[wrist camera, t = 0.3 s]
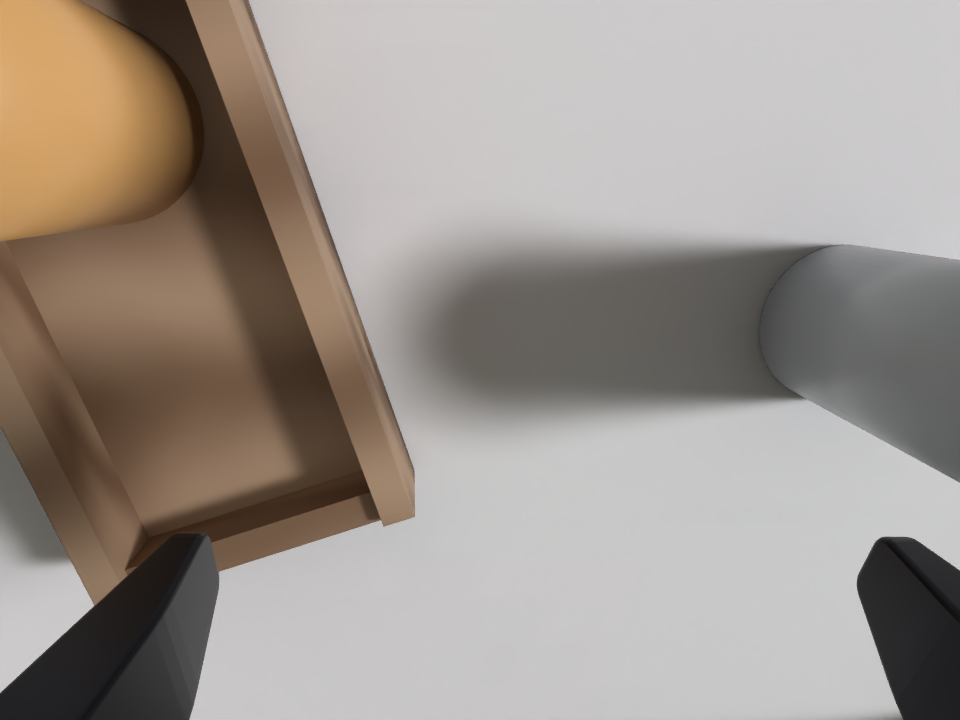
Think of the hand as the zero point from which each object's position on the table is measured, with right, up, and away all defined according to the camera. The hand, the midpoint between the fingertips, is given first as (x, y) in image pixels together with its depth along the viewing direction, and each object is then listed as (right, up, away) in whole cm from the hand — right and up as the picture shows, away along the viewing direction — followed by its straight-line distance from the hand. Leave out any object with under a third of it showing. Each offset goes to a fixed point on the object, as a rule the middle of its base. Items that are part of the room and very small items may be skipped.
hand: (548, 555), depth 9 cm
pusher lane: (-11, +7, +12) cm, 18 cm away
